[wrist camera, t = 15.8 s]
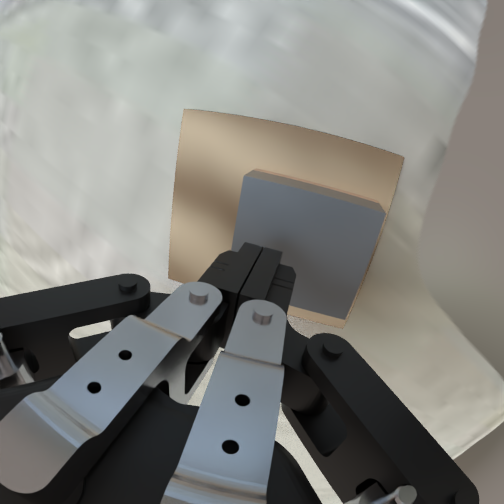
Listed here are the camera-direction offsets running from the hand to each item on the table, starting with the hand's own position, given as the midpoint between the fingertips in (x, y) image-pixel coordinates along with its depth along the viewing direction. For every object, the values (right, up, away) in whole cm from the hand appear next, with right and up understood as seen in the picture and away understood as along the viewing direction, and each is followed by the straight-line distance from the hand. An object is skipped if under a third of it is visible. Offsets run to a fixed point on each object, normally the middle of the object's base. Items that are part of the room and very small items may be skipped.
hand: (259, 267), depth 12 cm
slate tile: (-1, +2, +4) cm, 4 cm away
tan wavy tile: (+1, +2, +5) cm, 6 cm away
